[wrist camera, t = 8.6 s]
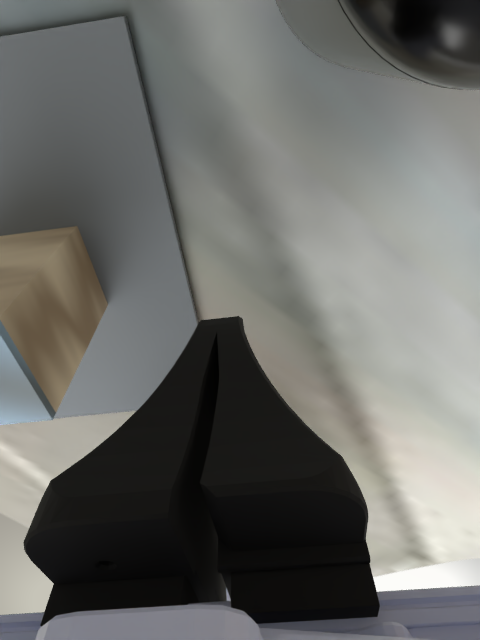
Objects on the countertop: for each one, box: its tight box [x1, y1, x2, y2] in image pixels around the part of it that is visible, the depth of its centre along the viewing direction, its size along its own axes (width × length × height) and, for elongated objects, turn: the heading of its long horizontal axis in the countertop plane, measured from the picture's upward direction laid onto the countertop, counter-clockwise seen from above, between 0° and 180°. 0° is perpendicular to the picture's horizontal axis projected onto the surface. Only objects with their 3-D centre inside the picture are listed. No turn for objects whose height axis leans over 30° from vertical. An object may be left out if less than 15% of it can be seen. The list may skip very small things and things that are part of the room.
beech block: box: [0, 226, 108, 425], centre depth 15 cm, size 4×4×7 cm
